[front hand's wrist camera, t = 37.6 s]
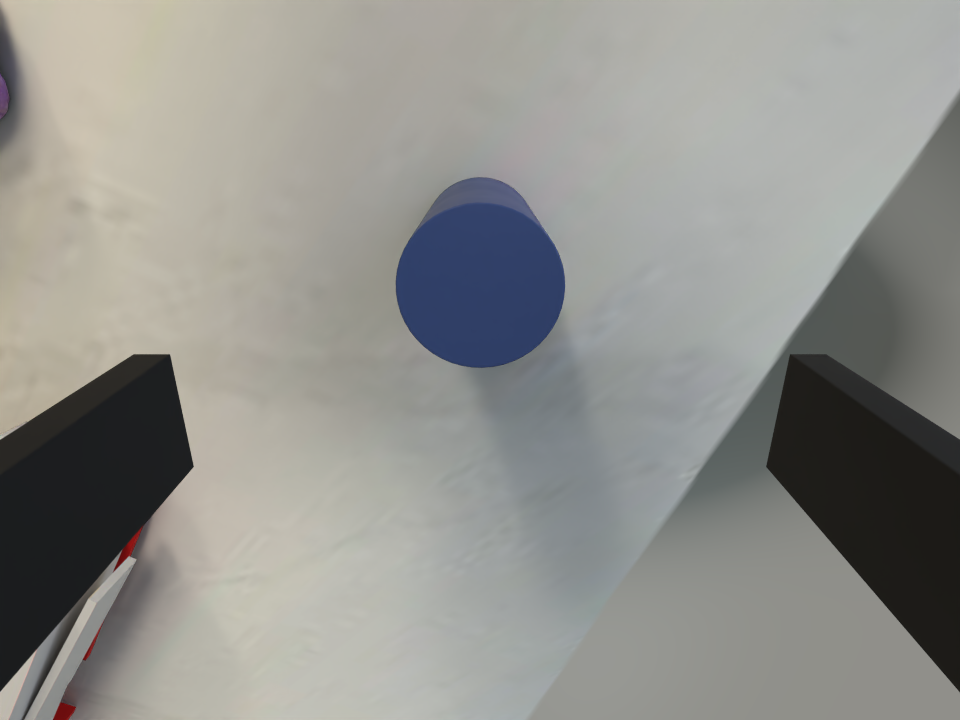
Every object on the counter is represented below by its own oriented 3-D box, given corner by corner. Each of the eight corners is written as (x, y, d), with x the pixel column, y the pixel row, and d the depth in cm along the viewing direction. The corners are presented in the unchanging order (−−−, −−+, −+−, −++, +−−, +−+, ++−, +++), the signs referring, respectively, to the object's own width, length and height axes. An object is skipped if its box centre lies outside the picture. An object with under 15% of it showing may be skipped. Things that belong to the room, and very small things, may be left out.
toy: (112, 537, 30) (-49, 923, 36) (211, 440, 43) (81, 736, 49) (-133, 443, 28) (-262, 868, 34) (49, 371, 41) (-67, 687, 47)
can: (534, 286, 35) (563, 366, 23) (428, 289, 35) (402, 370, 23) (535, 175, 33) (567, 199, 21) (421, 179, 33) (388, 204, 21)
